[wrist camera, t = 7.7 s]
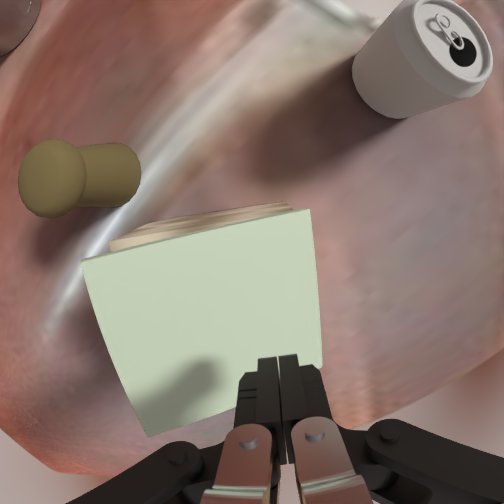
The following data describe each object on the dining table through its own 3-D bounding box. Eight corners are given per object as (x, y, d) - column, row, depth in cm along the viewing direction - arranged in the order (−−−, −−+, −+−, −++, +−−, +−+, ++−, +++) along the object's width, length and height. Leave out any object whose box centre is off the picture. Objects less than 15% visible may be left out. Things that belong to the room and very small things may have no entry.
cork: (131, 132, 24) (60, 113, 14) (149, 195, 26) (82, 209, 15) (79, 157, 25) (-1, 156, 14) (95, 216, 26) (19, 240, 15)
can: (389, 136, 24) (469, 116, 12) (332, 73, 22) (377, 9, 11) (435, 93, 22) (515, 62, 10) (382, 34, 21) (440, -27, 9)
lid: (145, 428, 15) (147, 436, 14) (81, 259, 12) (80, 262, 12) (315, 361, 20) (322, 366, 19) (301, 208, 17) (309, 209, 17)
